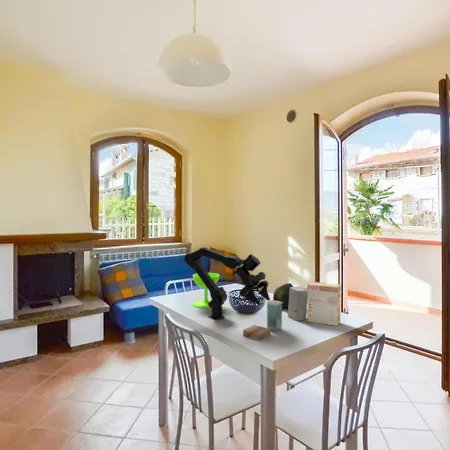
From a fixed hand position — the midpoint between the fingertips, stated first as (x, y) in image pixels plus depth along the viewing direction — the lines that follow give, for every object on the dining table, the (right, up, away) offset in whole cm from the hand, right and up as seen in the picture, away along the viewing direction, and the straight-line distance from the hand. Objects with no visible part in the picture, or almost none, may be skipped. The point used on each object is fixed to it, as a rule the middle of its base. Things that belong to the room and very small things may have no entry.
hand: (264, 302), depth 160 cm
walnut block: (-5, -13, -11) cm, 17 cm away
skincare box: (+19, -12, +14) cm, 26 cm away
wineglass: (-31, -11, +39) cm, 51 cm away
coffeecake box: (+31, -12, +8) cm, 34 cm away
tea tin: (+4, -12, -3) cm, 13 cm away
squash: (+17, -11, +36) cm, 41 cm away
